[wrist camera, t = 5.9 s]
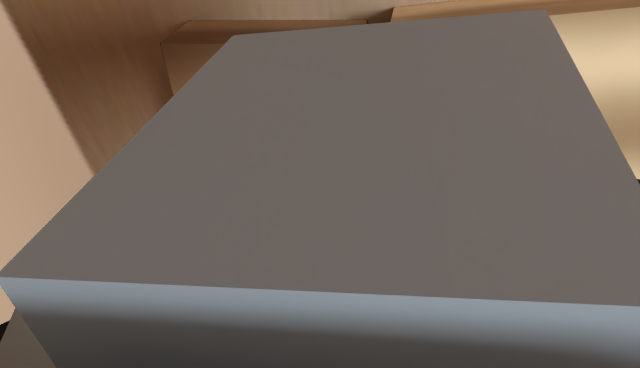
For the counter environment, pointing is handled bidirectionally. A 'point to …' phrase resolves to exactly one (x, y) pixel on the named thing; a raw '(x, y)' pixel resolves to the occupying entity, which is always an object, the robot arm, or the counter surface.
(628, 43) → the maple plinth
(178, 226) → the grey block
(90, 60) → the counter surface
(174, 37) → the walnut plinth
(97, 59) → the counter surface
